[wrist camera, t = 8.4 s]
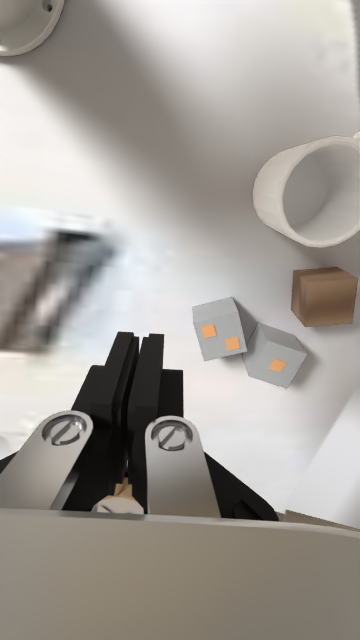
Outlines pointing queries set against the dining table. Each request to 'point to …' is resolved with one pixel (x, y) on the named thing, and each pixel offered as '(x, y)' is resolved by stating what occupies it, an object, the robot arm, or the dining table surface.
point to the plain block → (323, 296)
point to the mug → (312, 191)
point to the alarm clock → (120, 501)
